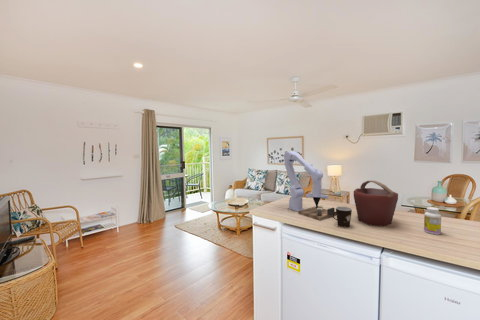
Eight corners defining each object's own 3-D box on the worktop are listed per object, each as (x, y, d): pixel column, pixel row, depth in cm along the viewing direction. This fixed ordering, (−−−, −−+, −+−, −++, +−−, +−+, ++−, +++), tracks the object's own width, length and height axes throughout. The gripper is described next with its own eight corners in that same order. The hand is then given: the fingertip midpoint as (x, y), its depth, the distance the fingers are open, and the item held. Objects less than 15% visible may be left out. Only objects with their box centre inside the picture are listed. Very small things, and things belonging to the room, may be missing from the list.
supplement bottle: (423, 228, 117) (424, 205, 117) (440, 231, 113) (440, 207, 112) (424, 232, 112) (424, 208, 111) (441, 235, 108) (442, 211, 107)
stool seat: (298, 213, 149) (298, 205, 149) (314, 209, 159) (314, 201, 159) (320, 220, 134) (320, 211, 134) (337, 215, 144) (337, 206, 144)
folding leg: (321, 214, 139) (321, 210, 139) (316, 214, 140) (316, 209, 140) (322, 209, 150) (322, 205, 150) (318, 209, 151) (318, 204, 151)
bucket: (404, 230, 116) (405, 184, 115) (360, 228, 121) (360, 184, 119) (383, 215, 140) (384, 178, 139) (347, 214, 145) (347, 178, 143)
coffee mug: (348, 222, 130) (348, 206, 129) (354, 228, 121) (354, 210, 120) (328, 222, 131) (328, 206, 130) (333, 227, 122) (333, 210, 122)
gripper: (305, 189, 145) (305, 208, 146) (328, 190, 139) (328, 211, 139) (306, 187, 151) (306, 206, 152) (328, 188, 145) (328, 208, 146)
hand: (317, 208), depth 146 cm, fingers closed, pressing on folding leg
